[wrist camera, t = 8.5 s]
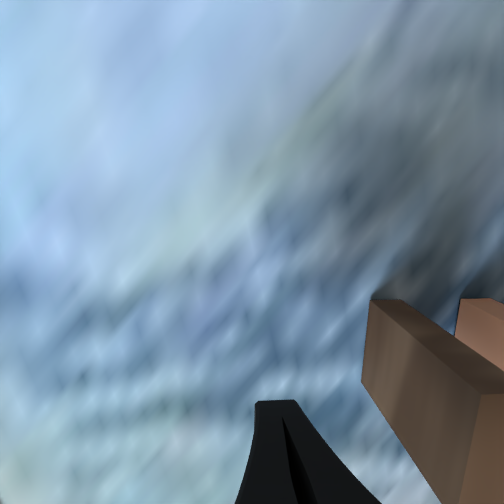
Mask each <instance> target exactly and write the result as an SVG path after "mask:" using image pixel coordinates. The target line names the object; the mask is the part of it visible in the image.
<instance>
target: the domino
mask: <svg viewBox="0 0 504 504" xmlns="http://www.w3.org/2000/svg"><path fill="white" fill-rule="evenodd" d="M361 383H362V384H363V386H364V387H365V389H366V390H367V392H368V393H369V395H370V396H371V398H372V399H373V401H374V402H375V404H376V405H377V407H378V408H379V410H380V411H381V413H382V414H383V416H384V417H385V419H386V420H387V422H388V423H389V425H390V426H391V428H392V430H393V431H394V433H395V434H396V436H397V437H398V439H399V440H400V442H401V443H402V445H403V446H404V448H405V449H406V451H407V452H408V454H409V455H410V457H411V458H412V460H413V461H414V463H415V464H416V466H417V467H418V469H419V470H420V472H421V473H422V475H423V476H424V478H425V479H426V481H427V482H428V484H429V485H430V487H431V488H432V490H433V492H434V493H435V495H436V496H437V498H438V499H439V501H440V502H441V504H504V371H503V370H501V369H500V368H499V367H497V366H496V365H494V364H493V363H491V362H490V361H488V360H487V359H486V358H484V357H483V356H481V355H480V354H478V353H477V352H476V351H474V350H473V349H471V348H470V347H468V346H467V345H466V344H464V343H463V342H461V341H460V340H458V339H457V338H455V337H454V336H453V335H451V334H450V333H448V332H447V331H445V330H444V329H443V328H441V327H440V326H438V325H437V324H435V323H434V322H433V321H431V320H430V319H428V318H427V317H425V316H424V315H422V314H421V313H420V312H418V311H417V310H415V309H414V308H412V307H411V306H410V305H408V304H407V303H405V302H404V301H402V300H370V304H369V314H368V323H367V332H366V341H365V350H364V359H363V369H362V378H361Z"/></svg>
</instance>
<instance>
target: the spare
mask: <svg viewBox="0 0 504 504" xmlns="http://www.w3.org/2000/svg"><path fill="white" fill-rule="evenodd" d="M455 338H457V339H458V340H460V341H461V342H463V343H464V344H466V345H467V346H468V347H470V348H471V349H473V350H474V351H476V352H477V353H478V354H480V355H481V356H483V357H484V358H486V359H487V360H488V361H490V362H491V363H493V364H494V365H496V366H497V367H499V368H500V369H501V370H503V371H504V304H502V303H500V302H498V301H496V300H493V299H491V298H480V299H461V302H460V307H459V313H458V319H457V325H456V331H455Z"/></svg>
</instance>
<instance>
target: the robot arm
mask: <svg viewBox="0 0 504 504" xmlns="http://www.w3.org/2000/svg"><path fill="white" fill-rule="evenodd" d="M235 504H381V503H380V502H379V501H378V500H377V499H376V498H375V497H374V496H373V495H372V494H371V493H370V492H369V491H368V490H367V489H366V488H365V487H364V486H363V485H362V483H361V482H360V481H359V480H358V479H357V478H356V477H355V476H354V475H353V474H352V473H351V472H350V470H349V469H348V468H347V467H346V466H345V465H344V464H343V463H342V461H341V460H340V459H339V458H338V457H337V455H336V454H335V453H334V452H333V451H332V449H331V448H330V447H329V446H328V444H327V443H326V442H325V441H324V439H323V438H322V437H321V436H320V434H319V433H318V432H317V430H316V429H315V428H314V426H313V425H312V423H311V422H310V421H309V419H308V418H307V417H306V415H305V414H304V412H303V411H302V409H301V408H300V406H299V405H298V403H297V402H296V401H295V400H269V401H258V402H257V403H255V420H254V435H253V440H252V445H251V450H250V455H249V459H248V462H247V466H246V470H245V473H244V477H243V480H242V483H241V487H240V490H239V493H238V496H237V499H236V501H235Z"/></svg>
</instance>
